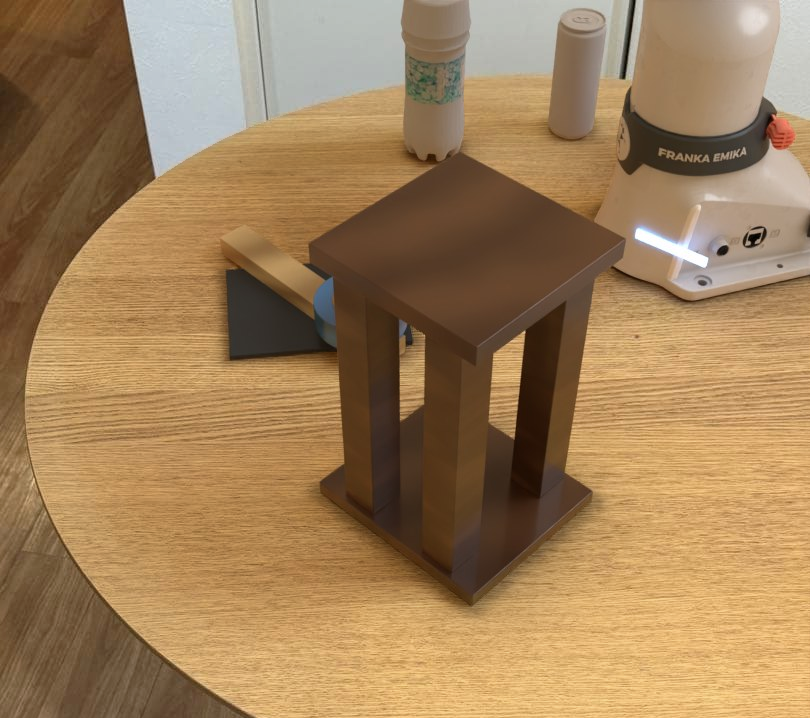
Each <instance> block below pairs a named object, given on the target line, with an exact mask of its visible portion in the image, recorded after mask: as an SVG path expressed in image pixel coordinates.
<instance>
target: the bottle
mask: <svg viewBox="0 0 810 718" xmlns="http://www.w3.org/2000/svg"><path fill="white" fill-rule="evenodd" d="M400 26H401V39H402V41H403V43H404V106H403V118H402V119H403V120H402V132H403V140H404V145H405V147H406V149H407V151H408V153H410V154H414V155H415V154H416V156H417V158H418V159H419V160H420V161H426V160H427V159H428V156H429V155H430V154H431V155H435V160H436V161H437V162H443V161H445V160H446V158H447V155H448V156H449V157H451V156H453V155H455V154H456V153H458V152H460V149H461V146H462V143H463V139H464V135H465V99H464V97H465V95H464V94H465V75H466V74H465V73H466V54H467V52H466V51H467V50H466V49H467V48H466V47H467V44H468V42H469V40H470V38H471V33H470V29H471V26H472V19H471V9H470V0H403V5H402V12H401V18H400Z"/></svg>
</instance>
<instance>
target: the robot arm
mask: <svg viewBox="0 0 810 718" xmlns="http://www.w3.org/2000/svg"><path fill="white" fill-rule="evenodd" d="M641 11H642V12H641V20H640V21H641V22H640V28H639V34H638V41H637V48H636V55H635V62H634V68H633V75H632V81H631V85H630V86H629V88H628V89H627V91H626V93H625V98H624V101H623V107H622V112H621V116H620V118H619V122H618V127H617V135H616V144H615V145H616V147H615V149H616V161H615V165H614V170H613V173H612V175H611V180H610V182H609V185H608V188H607V190H606V194H605V196H604V197H603V201H602V202H601V205H600V207H599V210H598V211H597V213H596V215H595V217H594V219H593V220H592V221H593V222H595V223H597V224H599V225H601V226H603V227H605V228H607V229H609V230H610V231H612V232H614V233H616V234H618V235H620V236H622V237H624V238H626V244H625V249H624V255H623V258H622V259H621V260H620V261H618V262H617V263H616V264H614V265H613V266H612V267H614V268H616V269H617V270H619V271H621V272H623V273H624V274H627V275H628V276H631V277H634V278H636V279H639V280H642V281H646V282H648V283H652V284H655V285H658V286H660V287H662V288H663V289H665V290H667V292H670V293H671V294H672V295H675V296H676V297H678V298H680V299H682V300H685V301H698V300H703V299H709V298H711V297H713V298H714V297H717V296H721V295H725V294H730V293H734V292H739V291H743V290H748V289H752V288H757V287H761V286H766V285H770V284H774V283H779V282H784V281H788V280H792V279H797V278H802V277H806V276H810V176H809V174H808V172H807V170H806V169H805V168H804V166H803V165H802V163H801V161H799V159H798V158H797V157H796V156H795V155H794V154H793V153H792V152H791V151H790V150H789V149H788V148H790V145H793V144H794V141H796V133H795V131H794V129H793V128H792V127H791V125H790V123H789V121H788V120H787V119H785V118H781V117H780V118H777V115H778V110H777V108H776V107H775V106H774V104H773V103H772V102H771V101H770V100H768V98H766V97H765V96H764V93H765V89H766V85H765V84H767V81H768V78H769V73H770V69H771V65H772V62H773V57H774V53H775V48H776V44H777V40H778V37H779V33H780V27H781V8H780V2H779V0H642V9H641ZM766 80H767V81H766ZM764 88H765V89H764ZM763 92H764V93H763Z"/></svg>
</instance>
